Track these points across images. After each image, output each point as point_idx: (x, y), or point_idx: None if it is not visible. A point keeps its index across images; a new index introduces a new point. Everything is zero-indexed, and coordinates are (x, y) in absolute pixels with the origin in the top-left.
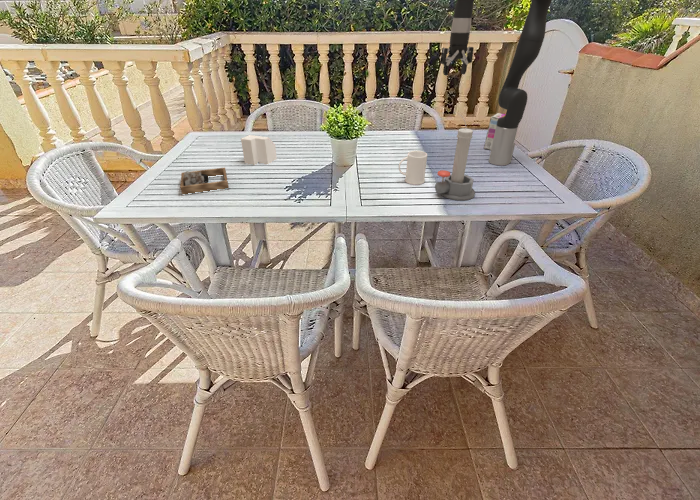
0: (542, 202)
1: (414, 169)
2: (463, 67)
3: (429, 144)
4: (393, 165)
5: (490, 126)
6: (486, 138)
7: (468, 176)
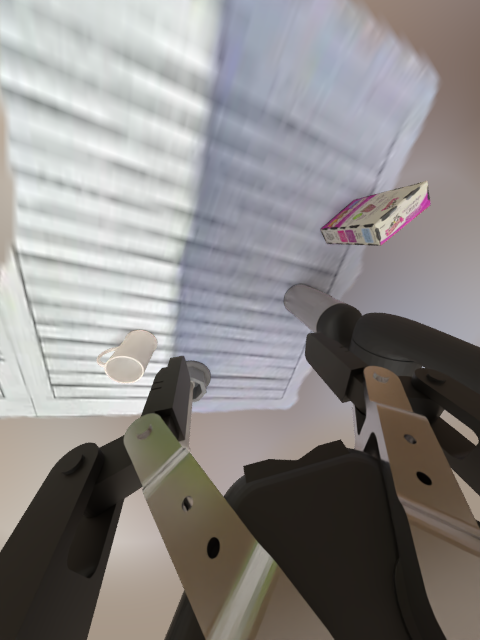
0: (264, 397)
1: (127, 367)
2: (330, 376)
3: (227, 153)
4: (109, 275)
5: (356, 231)
6: (334, 229)
7: (203, 385)
